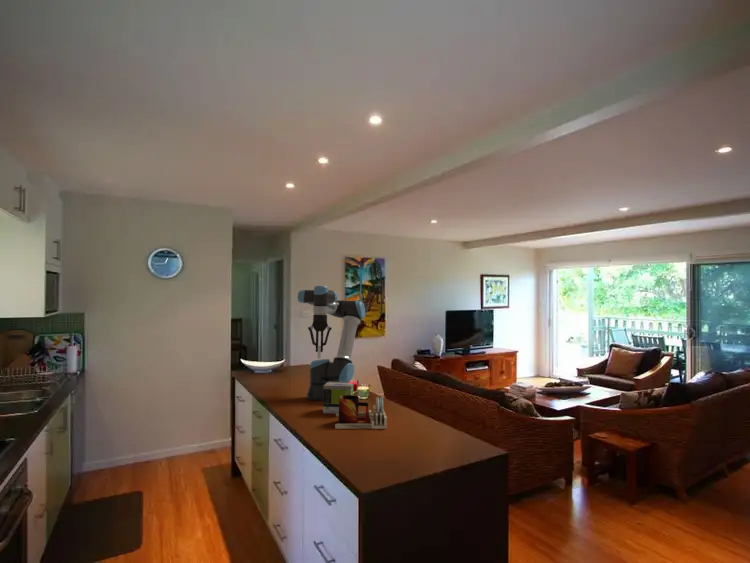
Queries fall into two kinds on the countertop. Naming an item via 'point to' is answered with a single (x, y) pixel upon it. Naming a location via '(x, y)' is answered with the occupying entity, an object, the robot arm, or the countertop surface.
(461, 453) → the countertop surface
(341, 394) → the tea box
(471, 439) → the countertop surface
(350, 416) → the mug
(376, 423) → the dish rack
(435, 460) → the countertop surface
